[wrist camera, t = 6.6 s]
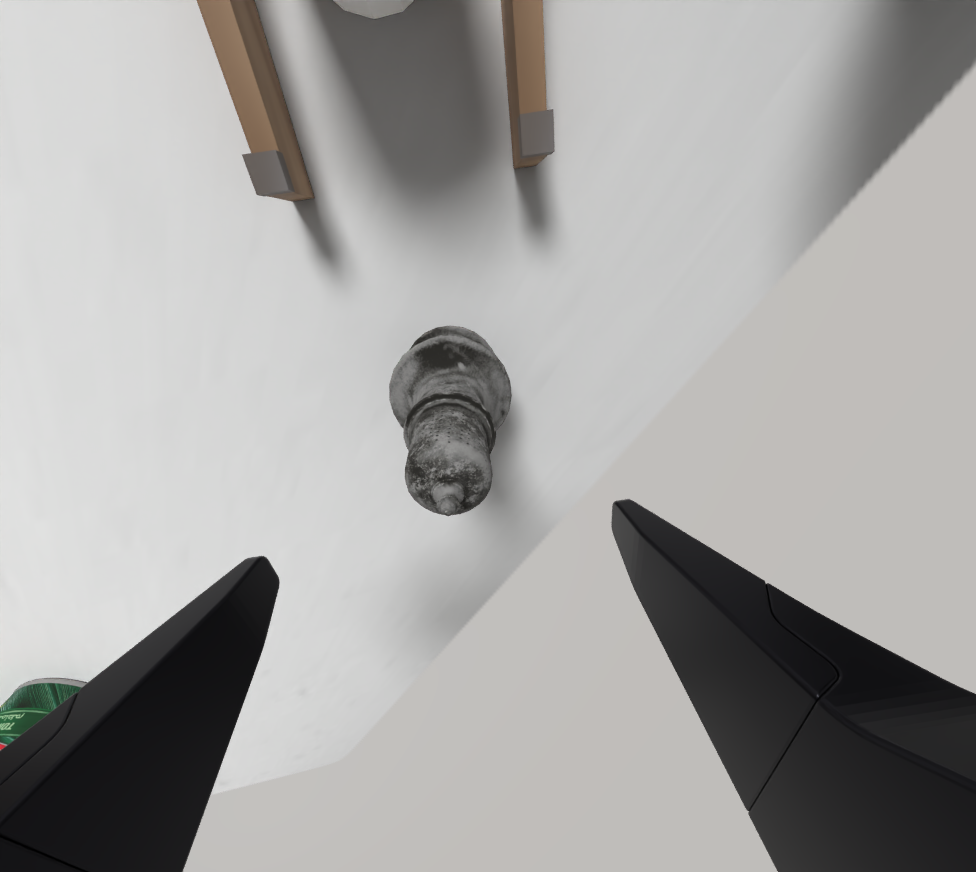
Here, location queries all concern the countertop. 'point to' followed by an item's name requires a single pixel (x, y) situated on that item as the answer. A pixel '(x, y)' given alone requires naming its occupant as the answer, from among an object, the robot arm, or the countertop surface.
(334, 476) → the countertop surface
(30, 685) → the canned tomato
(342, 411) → the countertop surface
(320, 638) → the countertop surface
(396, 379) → the salt shaker
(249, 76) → the wooden stand
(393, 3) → the white tapered cup
